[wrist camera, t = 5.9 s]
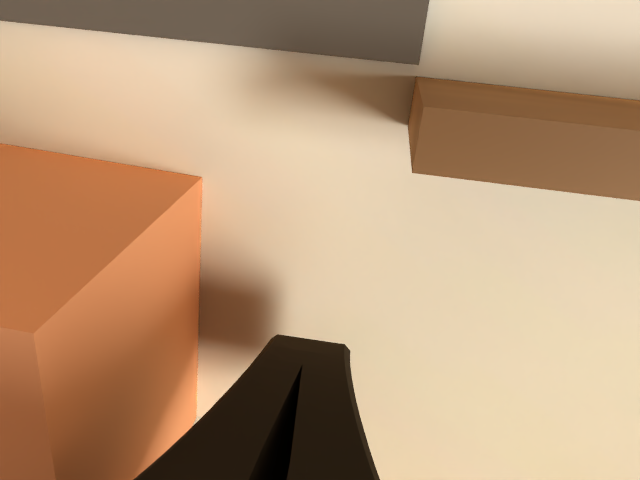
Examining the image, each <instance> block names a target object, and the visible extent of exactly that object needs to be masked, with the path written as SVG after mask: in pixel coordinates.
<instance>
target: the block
mask: <svg viewBox="0 0 640 480" xmlns="http://www.w3.org/2000/svg"><path fill="white" fill-rule="evenodd" d="M201 209H202V177H197V176H191V175H185V174H179V173H174V172H168V171H162V170H156V169H150V168H144V167H138V166H132V165H126V164H120V163H114V162H108V161H102V160H96V159H90V158H84V157H78V156H72V155H66V154H60V153H54V152H49V151H43V150H37V149H31V148H25V147H19V146H13V145H7V144H1V143H0V480H133V479H134V478H136V477H137V476H138V475H139V474H140V473H142V472H143V471H144V470H145V469H146V468H148V467H149V466H150V465H151V464H152V463H153V462H154V461H156V460H157V459H158V458H159V457H160V456H161V455H163V454H164V453H165V452H166V451H167V450H168V449H169V448H170V447H171V446H172V445H173V444H174V443H175V442H177V441H178V440H179V439H180V438H181V437H182V436H183V435H184V434H185V433H186V432H187V431H188V430H189V429H190V428H191V427H192V425H193V423H194V421H195V419H196V409H197V369H198V329H199V289H200V249H201Z"/></svg>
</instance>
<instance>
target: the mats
mask: <svg viewBox="0 0 640 480" xmlns="http://www.w3.org/2000/svg"><path fill="white" fill-rule="evenodd" d="M428 4H429V0H0V21H9V22H18V23H28V24H37V25H47V26H56V27H66V28H75V29H85V30H94V31H103V32H113V33H122V34H132V35H141V36H151V37H160V38H170V39H179V40H188V41H198V42H207V43H217V44H226V45H236V46H245V47H255V48H264V49H273V50H283V51H292V52H302V53H311V54H321V55H330V56H340V57H349V58H358V59H368V60H377V61H387V62H396V63H406V64H415V65H419V60H420V54H421V48H422V41H423V35H424V29H425V23H426V17H427V11H428Z"/></svg>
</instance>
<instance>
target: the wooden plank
mask: <svg viewBox="0 0 640 480" xmlns="http://www.w3.org/2000/svg"><path fill="white" fill-rule="evenodd" d="M408 132H409V143H410V154H411V164H412V173H418V174H426V175H434V176H442V177H450V178H458V179H467V180H475V181H483V182H491V183H499V184H507V185H515V186H523V187H531V188H539V189H548V190H556V191H564V192H572V193H580V194H588V195H596V196H604V197H612V198H620V199H629V200H637V201H640V101H638V100H629V99H620V98H610V97H601V96H592V95H583V94H573V93H564V92H555V91H545V90H536V89H527V88H518V87H508V86H499V85H490V84H480V83H471V82H462V81H453V80H443V79H434V78H425V77H416V80H415V86H414V92H413V98H412V105H411V111H410V117H409V123H408Z"/></svg>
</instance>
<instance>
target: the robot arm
mask: <svg viewBox="0 0 640 480" xmlns="http://www.w3.org/2000/svg"><path fill="white" fill-rule="evenodd" d="M133 480H380V479H379V476H378V473H377V470H376V468H375V465H374V462H373V459H372V456H371V452H370V449H369V446H368V443H367V439H366V436H365V432H364V429H363V425H362V422H361V418H360V415H359V411H358V407H357V403H356V398H355V393H354V388H353V383H352V376H351V368H350V350H349V349H348V348H347V347H346V345H345V344H338V343H331V342H325V341H318V340H311V339H304V338H298V337H291V336H284V335H276V336H275V337H273V338H272V339H271V340H270V341H269V342H268V344H267V345H266V346H265V348H264V349H263V350H262V352H261V353H260V354H259V355H258V357H257V358H256V359H255V360H254V361H253V363H252V364H251V365H250V366H249V367H248V369H247V370H246V371H245V372H244V373H243V374H242V375H241V377H240V378H239V379H238V380H237V381H236V382H235V383H234V384H233V385H232V387H231V388H230V389H229V390H228V391H227V392H226V393H225V394H224V395H223V396H222V397H221V398H220V399H219V400H218V401H217V402H216V404H215V405H214V406H213V407H212V408H211V409H210V410H209V411H208V412H207V413H206V414H205V415H204V416H203V417H202V418H201V419H200V420H199V421H198V422H197V423H196V424H195V425H193V426H192V427H191V428H190V429H189V430H188V431H187V432H186V433H185V434H184V435H183V436H182V437H181V438H180V439H179V440H178V441H177V442H175V443H174V444H173V445H172V446H171V447H170V448H169V449H168V450H167V451H166V452H165V453H164V454H163V455H161V456H160V457H159V458H158V459H157V460H156V461H154V462H153V463H152V464H151V465H150V466H149V467H148V468H146V469H145V470H144V471H143V472H142V473H140V474H139V475H138V476H137V477H136V478H134V479H133Z"/></svg>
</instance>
